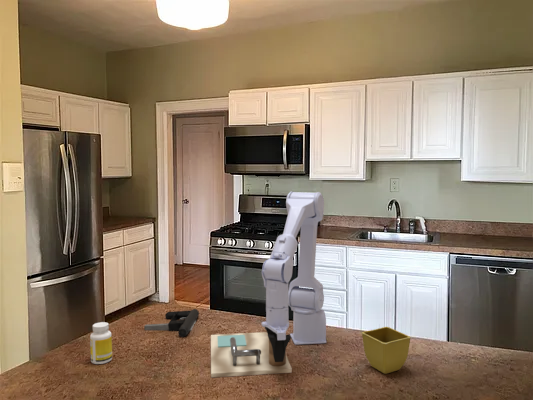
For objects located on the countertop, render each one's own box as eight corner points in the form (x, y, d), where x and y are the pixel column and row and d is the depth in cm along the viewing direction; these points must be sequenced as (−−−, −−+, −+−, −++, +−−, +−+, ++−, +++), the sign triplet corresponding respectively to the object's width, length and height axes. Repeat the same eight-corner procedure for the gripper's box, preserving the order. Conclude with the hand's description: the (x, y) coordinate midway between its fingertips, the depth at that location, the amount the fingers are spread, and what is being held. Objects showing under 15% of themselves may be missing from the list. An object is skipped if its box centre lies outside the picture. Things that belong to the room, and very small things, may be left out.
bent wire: (257, 348, 126) (257, 335, 126) (261, 364, 116) (261, 350, 115) (229, 350, 125) (229, 336, 125) (231, 366, 115) (231, 352, 114)
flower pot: (383, 379, 110) (384, 343, 109) (360, 365, 117) (360, 331, 117) (410, 372, 114) (411, 336, 113) (386, 359, 121) (387, 326, 121)
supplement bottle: (116, 358, 123) (115, 322, 122) (101, 366, 118) (100, 329, 117) (101, 354, 125) (100, 320, 124) (86, 362, 120) (85, 326, 119)
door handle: (138, 330, 138) (190, 327, 137) (156, 310, 158) (202, 307, 157) (139, 341, 138) (191, 338, 137) (157, 319, 158) (203, 316, 157)
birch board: (276, 334, 139) (276, 331, 139) (291, 372, 114) (291, 368, 113) (210, 338, 137) (210, 334, 137) (211, 377, 111) (211, 373, 111)
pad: (244, 335, 136) (244, 334, 136) (246, 346, 128) (246, 344, 128) (217, 337, 135) (217, 336, 135) (218, 347, 127) (218, 346, 127)
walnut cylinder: (284, 358, 119) (284, 336, 119) (287, 365, 115) (287, 342, 115) (267, 359, 119) (267, 337, 118) (270, 366, 115) (270, 343, 114)
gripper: (258, 298, 123) (258, 347, 124) (265, 315, 108) (265, 370, 109) (284, 297, 124) (284, 345, 124) (294, 314, 109) (294, 368, 110)
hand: (277, 357), depth 117 cm, fingers closed on walnut cylinder, 4 cm apart
